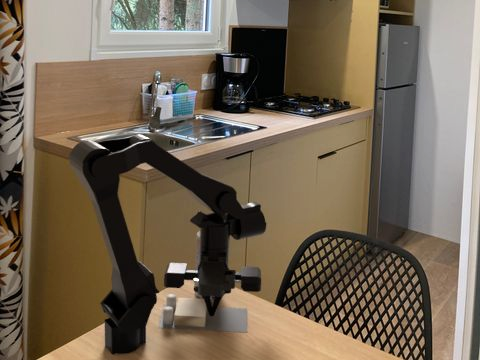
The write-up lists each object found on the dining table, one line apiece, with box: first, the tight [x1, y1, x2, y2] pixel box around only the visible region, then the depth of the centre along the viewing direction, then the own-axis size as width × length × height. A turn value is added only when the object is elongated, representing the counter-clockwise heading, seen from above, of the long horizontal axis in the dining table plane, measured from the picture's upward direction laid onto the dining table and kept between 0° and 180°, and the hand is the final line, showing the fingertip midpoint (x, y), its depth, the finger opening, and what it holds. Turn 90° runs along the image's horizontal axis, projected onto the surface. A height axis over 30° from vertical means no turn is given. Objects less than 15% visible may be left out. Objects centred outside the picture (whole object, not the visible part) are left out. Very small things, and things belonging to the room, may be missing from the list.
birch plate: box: [174, 297, 207, 327], centre depth 108 cm, size 6×7×2 cm
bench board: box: [157, 293, 248, 333], centre depth 108 cm, size 17×9×4 cm, turn 90°
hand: (211, 315), depth 108 cm, fingers closed
